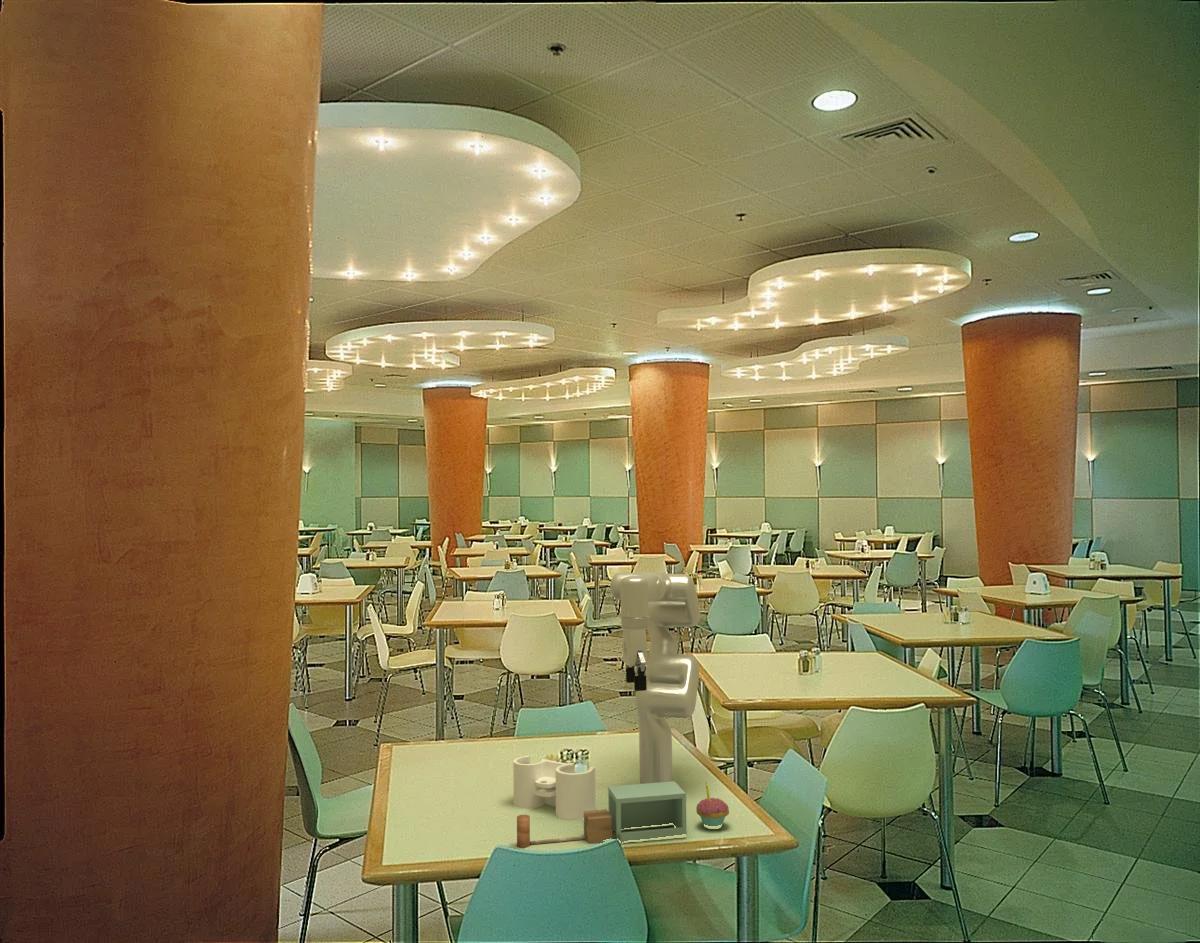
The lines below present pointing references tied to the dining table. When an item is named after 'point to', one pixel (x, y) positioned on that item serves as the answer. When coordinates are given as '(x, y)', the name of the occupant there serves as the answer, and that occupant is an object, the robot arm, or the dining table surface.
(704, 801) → the cupcake
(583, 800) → the bracket
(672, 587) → the robot arm
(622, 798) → the plain rectangular box
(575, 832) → the dining table surface
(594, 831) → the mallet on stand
